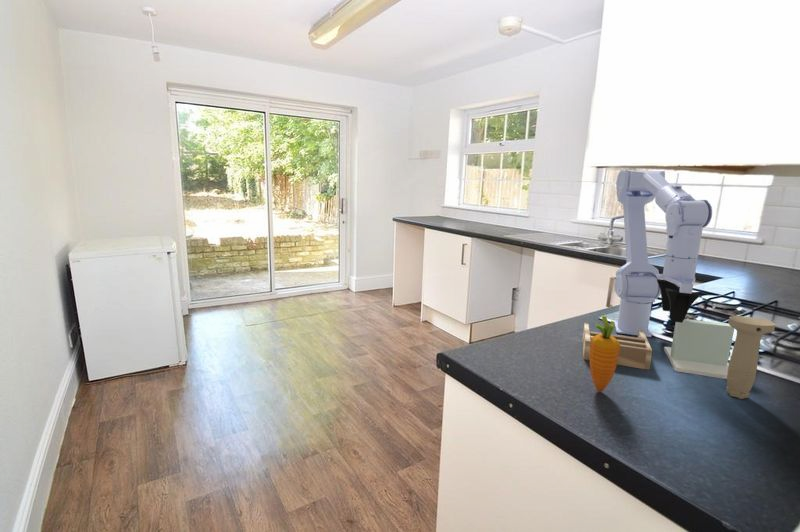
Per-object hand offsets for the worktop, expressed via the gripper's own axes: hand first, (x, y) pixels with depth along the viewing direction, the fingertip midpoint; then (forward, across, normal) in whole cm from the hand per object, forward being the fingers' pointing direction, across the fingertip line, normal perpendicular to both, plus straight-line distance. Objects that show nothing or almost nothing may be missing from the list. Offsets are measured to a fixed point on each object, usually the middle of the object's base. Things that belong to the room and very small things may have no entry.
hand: (672, 316), depth 88 cm
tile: (+10, 0, +6) cm, 12 cm away
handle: (+10, +13, +9) cm, 19 cm away
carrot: (+10, +22, -15) cm, 29 cm away
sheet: (+10, 0, +6) cm, 11 cm away
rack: (+10, +1, -11) cm, 15 cm away
